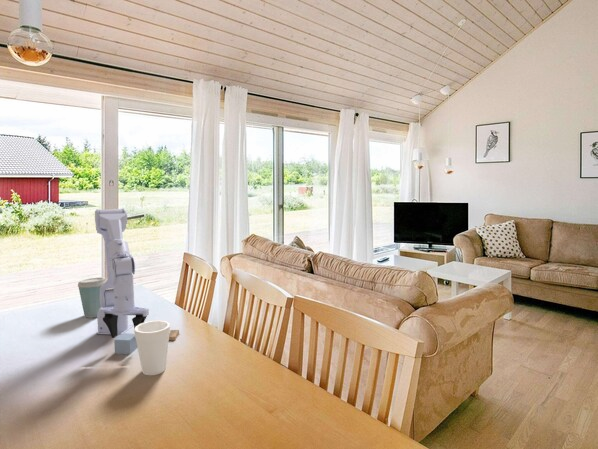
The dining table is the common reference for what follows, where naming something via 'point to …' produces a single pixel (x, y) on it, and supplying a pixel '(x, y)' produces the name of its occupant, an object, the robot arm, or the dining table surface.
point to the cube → (125, 343)
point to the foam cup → (152, 346)
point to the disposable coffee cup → (91, 295)
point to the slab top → (173, 334)
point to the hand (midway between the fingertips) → (126, 337)
